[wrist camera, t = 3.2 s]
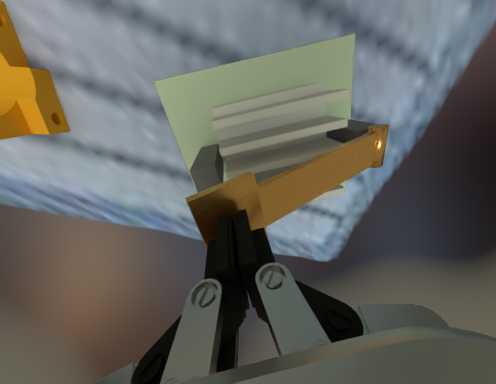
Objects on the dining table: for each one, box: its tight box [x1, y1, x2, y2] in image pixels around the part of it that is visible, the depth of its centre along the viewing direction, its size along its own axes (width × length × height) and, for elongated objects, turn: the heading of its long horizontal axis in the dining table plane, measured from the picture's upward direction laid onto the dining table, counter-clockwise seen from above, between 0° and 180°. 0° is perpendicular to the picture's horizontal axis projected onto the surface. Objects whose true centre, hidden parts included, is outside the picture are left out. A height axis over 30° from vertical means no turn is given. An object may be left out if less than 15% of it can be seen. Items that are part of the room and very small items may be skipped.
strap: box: [185, 124, 389, 249], centre depth 14 cm, size 18×5×1 cm, turn 102°
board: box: [154, 34, 376, 201], centre depth 22 cm, size 24×20×10 cm
